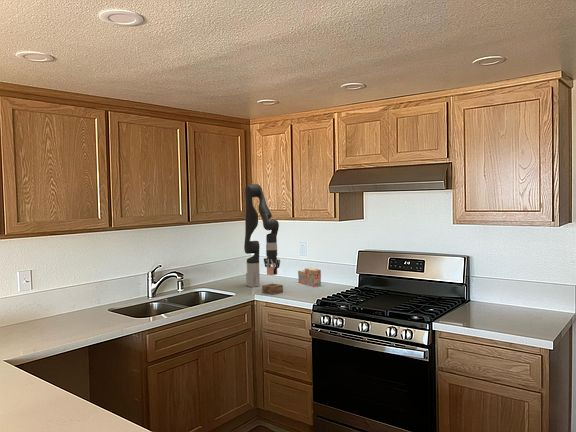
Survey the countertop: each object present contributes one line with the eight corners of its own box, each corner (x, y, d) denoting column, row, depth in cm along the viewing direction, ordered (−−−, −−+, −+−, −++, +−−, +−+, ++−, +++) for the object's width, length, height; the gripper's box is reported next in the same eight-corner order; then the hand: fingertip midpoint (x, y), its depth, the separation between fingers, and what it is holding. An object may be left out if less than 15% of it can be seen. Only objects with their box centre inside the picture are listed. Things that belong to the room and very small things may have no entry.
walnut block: (262, 292, 332) (262, 285, 332) (272, 290, 339) (272, 283, 339) (272, 294, 325) (272, 287, 325) (283, 292, 333) (282, 285, 332)
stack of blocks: (298, 283, 367) (297, 266, 367) (305, 282, 371) (304, 266, 370) (314, 287, 349) (313, 270, 348) (321, 286, 352) (320, 269, 352)
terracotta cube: (266, 274, 331) (266, 267, 331) (272, 273, 335) (271, 266, 335) (272, 275, 328) (272, 267, 328) (277, 274, 332) (277, 267, 332)
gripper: (260, 248, 333) (260, 273, 334) (275, 250, 323) (276, 275, 324) (268, 248, 338) (268, 272, 339) (283, 249, 329) (283, 274, 330)
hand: (272, 273), depth 332 cm, fingers closed on terracotta cube, 5 cm apart
